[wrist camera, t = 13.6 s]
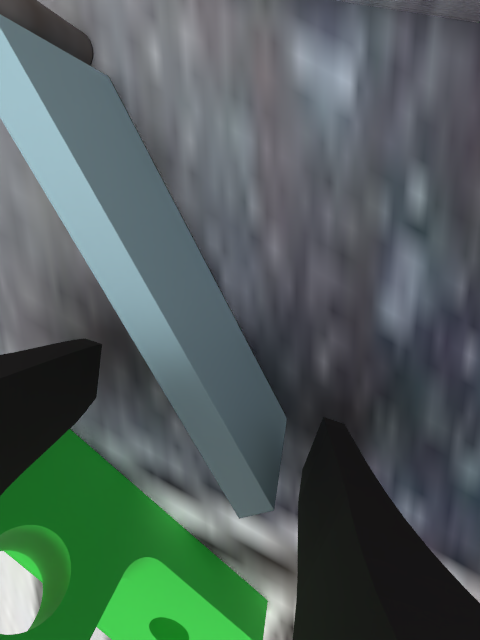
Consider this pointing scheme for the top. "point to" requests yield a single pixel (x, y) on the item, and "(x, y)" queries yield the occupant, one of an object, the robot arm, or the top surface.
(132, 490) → the mechanical part
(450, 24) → the top surface
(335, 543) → the robot arm
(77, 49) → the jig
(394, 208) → the top surface
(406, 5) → the block
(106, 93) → the bar
